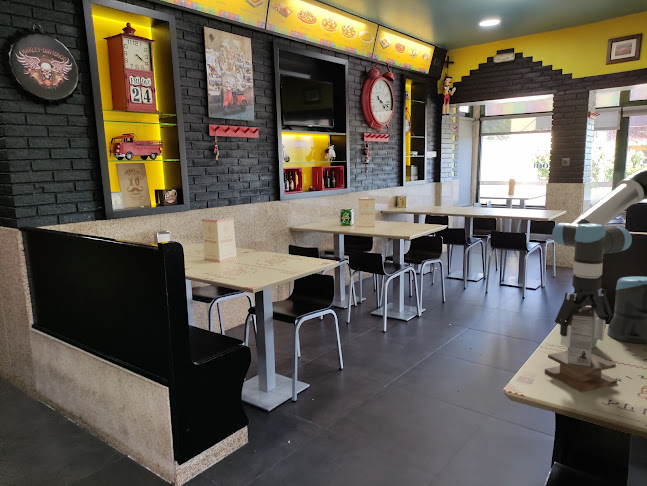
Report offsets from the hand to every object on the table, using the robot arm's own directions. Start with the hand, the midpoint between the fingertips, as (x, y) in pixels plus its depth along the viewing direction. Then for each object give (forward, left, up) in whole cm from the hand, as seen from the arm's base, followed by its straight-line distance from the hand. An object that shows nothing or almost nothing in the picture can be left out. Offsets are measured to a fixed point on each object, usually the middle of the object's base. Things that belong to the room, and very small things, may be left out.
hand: (582, 342), depth 141 cm
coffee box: (+1, 0, -6) cm, 6 cm away
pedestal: (0, 0, -12) cm, 12 cm away
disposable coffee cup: (-24, -19, -12) cm, 33 cm away
